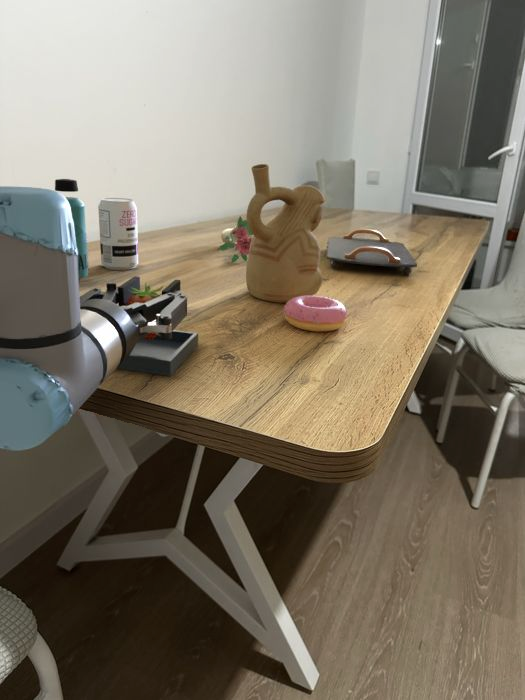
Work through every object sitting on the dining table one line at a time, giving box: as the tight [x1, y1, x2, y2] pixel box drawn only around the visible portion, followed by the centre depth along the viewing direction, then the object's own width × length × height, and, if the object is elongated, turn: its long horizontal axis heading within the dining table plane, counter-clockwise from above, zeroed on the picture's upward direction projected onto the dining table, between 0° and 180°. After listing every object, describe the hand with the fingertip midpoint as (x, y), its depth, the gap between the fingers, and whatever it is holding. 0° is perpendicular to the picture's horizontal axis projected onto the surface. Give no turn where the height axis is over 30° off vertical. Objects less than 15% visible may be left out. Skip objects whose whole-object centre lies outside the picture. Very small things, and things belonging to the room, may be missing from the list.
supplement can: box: [97, 197, 139, 271], centre depth 117 cm, size 8×8×15 cm
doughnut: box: [282, 295, 348, 332], centre depth 88 cm, size 11×11×4 cm
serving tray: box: [325, 228, 418, 276], centre depth 144 cm, size 39×23×6 cm, turn 172°
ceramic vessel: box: [245, 163, 326, 304], centre depth 101 cm, size 17×20×25 cm
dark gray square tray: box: [115, 329, 199, 377], centre depth 72 cm, size 11×11×2 cm
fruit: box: [126, 281, 164, 340], centre depth 70 cm, size 5×5×8 cm
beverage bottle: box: [54, 178, 90, 279], centre depth 101 cm, size 6×7×20 cm
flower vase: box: [217, 215, 254, 264], centre depth 136 cm, size 12×12×35 cm
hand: (157, 287), depth 74 cm, fingers closed on fruit, 5 cm apart
